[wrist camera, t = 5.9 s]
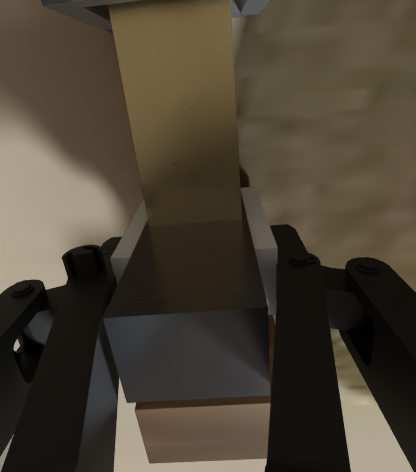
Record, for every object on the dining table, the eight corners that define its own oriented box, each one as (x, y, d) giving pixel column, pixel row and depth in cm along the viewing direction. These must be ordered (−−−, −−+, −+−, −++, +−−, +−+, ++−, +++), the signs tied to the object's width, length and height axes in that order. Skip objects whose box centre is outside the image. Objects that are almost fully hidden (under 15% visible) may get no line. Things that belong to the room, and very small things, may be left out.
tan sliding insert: (105, -120, 11) (-162, -596, 3) (223, -136, 11) (248, -686, 3) (177, 315, 19) (151, 488, 11) (246, 310, 19) (271, 483, 11)
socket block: (156, 315, 21) (134, 410, 15) (270, 307, 20) (293, 402, 15) (166, 361, 22) (149, 463, 17) (271, 355, 22) (292, 457, 16)
